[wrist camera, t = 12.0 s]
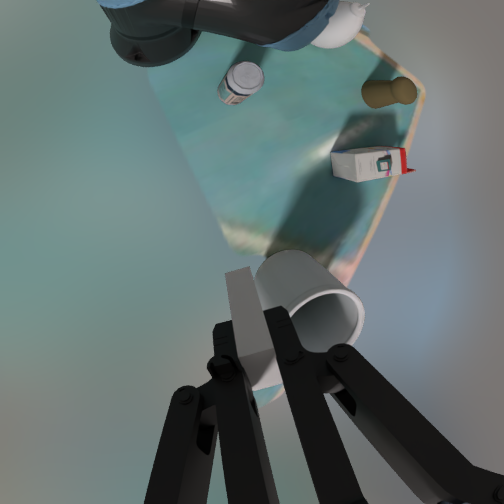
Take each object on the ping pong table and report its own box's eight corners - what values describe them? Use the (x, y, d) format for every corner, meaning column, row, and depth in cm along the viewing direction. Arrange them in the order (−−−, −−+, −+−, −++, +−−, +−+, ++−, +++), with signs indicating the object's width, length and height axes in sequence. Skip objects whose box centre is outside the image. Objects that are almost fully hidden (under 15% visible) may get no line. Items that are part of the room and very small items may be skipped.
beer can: (251, 91, 41) (274, 75, 30) (233, 111, 42) (250, 100, 31) (230, 73, 39) (245, 52, 28) (210, 93, 40) (220, 76, 29)
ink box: (329, 151, 48) (388, 144, 50) (332, 177, 50) (390, 167, 52) (355, 153, 40) (416, 146, 42) (358, 183, 42) (418, 172, 44)
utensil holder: (238, 304, 55) (261, 365, 39) (266, 236, 51) (304, 279, 35) (301, 317, 60) (337, 370, 44) (330, 256, 56) (380, 298, 40)
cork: (368, 112, 47) (406, 110, 37) (356, 84, 44) (393, 77, 34) (388, 104, 47) (425, 101, 37) (377, 77, 44) (414, 70, 34)
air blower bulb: (330, 60, 41) (392, 35, 25) (291, 47, 39) (343, 11, 23) (334, 28, 39) (391, -3, 22) (296, 15, 36) (345, -27, 20)
